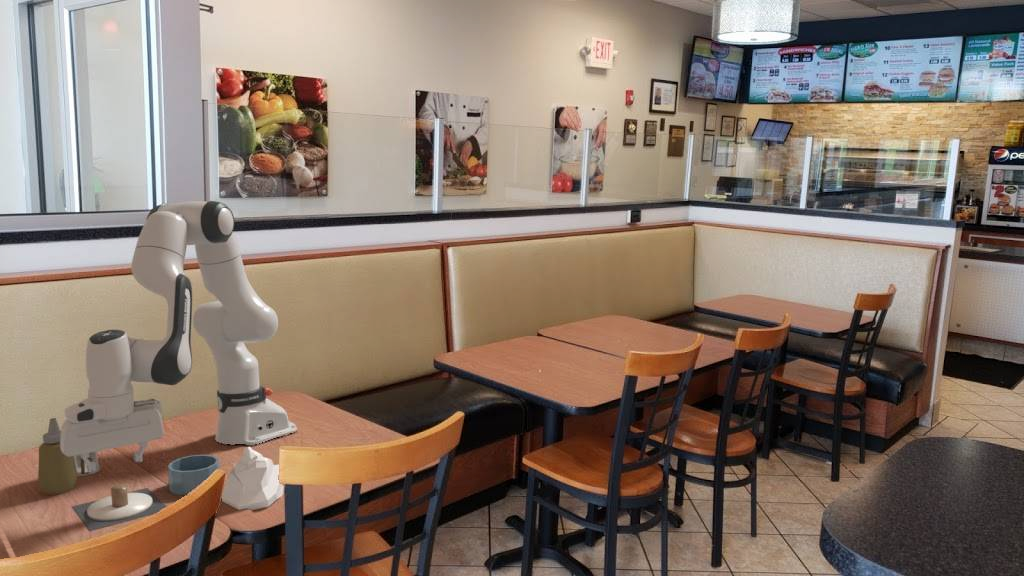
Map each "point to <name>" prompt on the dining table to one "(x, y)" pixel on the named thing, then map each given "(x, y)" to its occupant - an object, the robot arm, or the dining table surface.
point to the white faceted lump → (252, 482)
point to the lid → (119, 505)
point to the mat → (97, 524)
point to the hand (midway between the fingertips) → (115, 466)
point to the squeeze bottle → (55, 463)
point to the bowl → (190, 472)
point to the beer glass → (82, 466)
